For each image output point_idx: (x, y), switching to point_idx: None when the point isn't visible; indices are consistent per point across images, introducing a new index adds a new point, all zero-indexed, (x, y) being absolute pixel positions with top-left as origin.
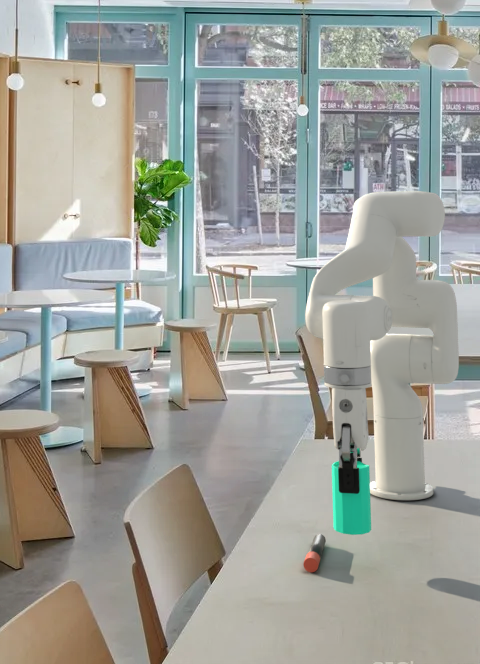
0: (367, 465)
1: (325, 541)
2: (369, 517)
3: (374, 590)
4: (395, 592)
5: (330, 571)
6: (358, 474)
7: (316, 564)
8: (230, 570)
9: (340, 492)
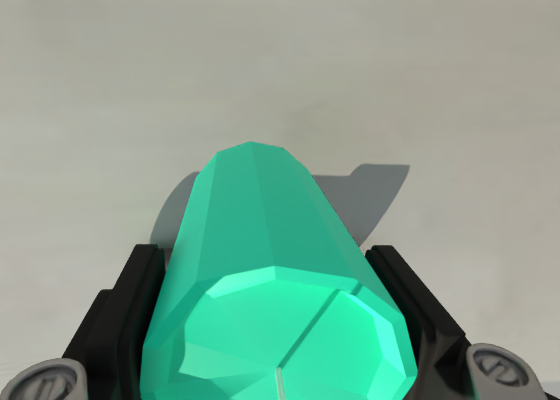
0: (293, 279)
1: None
2: (276, 158)
3: (450, 114)
4: (464, 62)
5: None
6: (442, 306)
7: None
8: None
9: None
